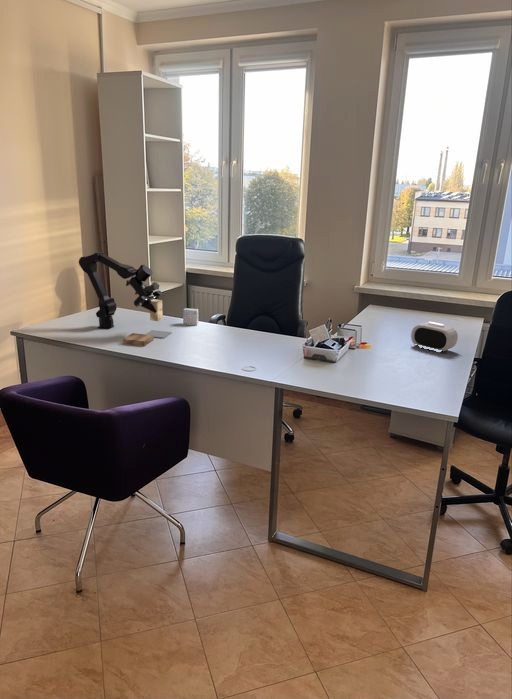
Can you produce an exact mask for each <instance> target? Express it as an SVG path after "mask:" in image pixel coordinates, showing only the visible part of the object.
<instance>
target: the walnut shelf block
mask: <svg viewBox="0 0 512 699" xmlns="http://www.w3.org/2000/svg"><path fill="white" fill-rule="evenodd" d="M146 334H147V333H135V332H134V333H133V332H132V333H131V334H129V335H127V336H125V337H124V338H123V339H122V344H123V345H127V346H128V345H130V346H136V347H137V346H140V347H145V346H146V347H147V345H149V344H150V343H152V342H153V341H154V338H153V335H146Z"/></svg>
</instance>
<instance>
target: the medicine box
mask: <svg viewBox="0 0 512 699" xmlns="http://www.w3.org/2000/svg"><path fill="white" fill-rule="evenodd" d="M182 325H183V326H196V327H197V326H198V325H199V309H198V308H188V307H187V308H186V307H185V308H184V309H183V310H182Z"/></svg>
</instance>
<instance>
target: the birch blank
mask: <svg viewBox="0 0 512 699" xmlns="http://www.w3.org/2000/svg"><path fill="white" fill-rule="evenodd" d="M151 303H152V305H153V306H154V308H155V309H156V311H157V312H156V313H154V312H152V311H150V310H149V320H150V321H152V322H153V321H154V322H160V321H163V317H164V316H163V313H164V312H163V300H162V299H159V300H157V299H154V300H151Z"/></svg>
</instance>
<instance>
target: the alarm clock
mask: <svg viewBox="0 0 512 699" xmlns="http://www.w3.org/2000/svg"><path fill="white" fill-rule="evenodd" d="M410 340H411V342H412V343H413V345H415V344H417V345H422V346H426V347H430V348H434V349H438V350H442V351H443V352H446V351H448V350H450V349H452V348H454V347H455V346H456V344H457V342H458V331H457V330H456V329H455V328H454V327H452V326H449V325H446V324H444V323H441V322H440V323H439V322H434V321H425V322H422V323H420V324H417V325H415V326H414V327H413V328H412V330H411V333H410Z"/></svg>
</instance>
